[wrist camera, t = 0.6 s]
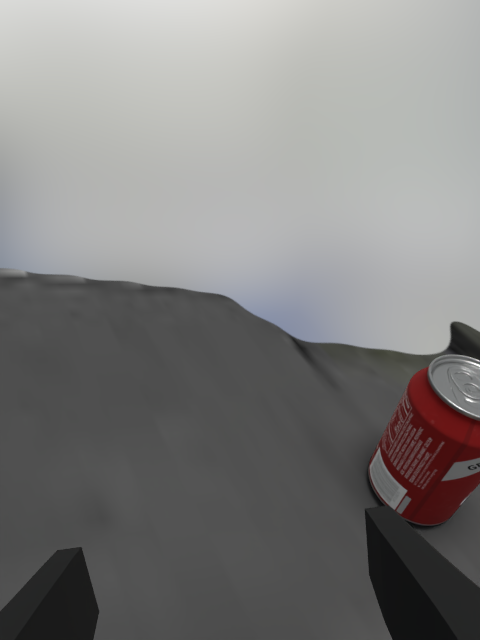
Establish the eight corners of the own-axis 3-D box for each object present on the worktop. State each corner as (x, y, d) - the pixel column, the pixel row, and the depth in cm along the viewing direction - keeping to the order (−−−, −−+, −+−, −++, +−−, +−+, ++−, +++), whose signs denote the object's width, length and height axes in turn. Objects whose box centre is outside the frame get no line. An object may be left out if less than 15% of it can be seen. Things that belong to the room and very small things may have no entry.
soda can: (381, 530, 29) (447, 429, 22) (355, 449, 34) (402, 346, 27) (468, 530, 30) (562, 431, 22) (430, 450, 35) (496, 349, 28)
